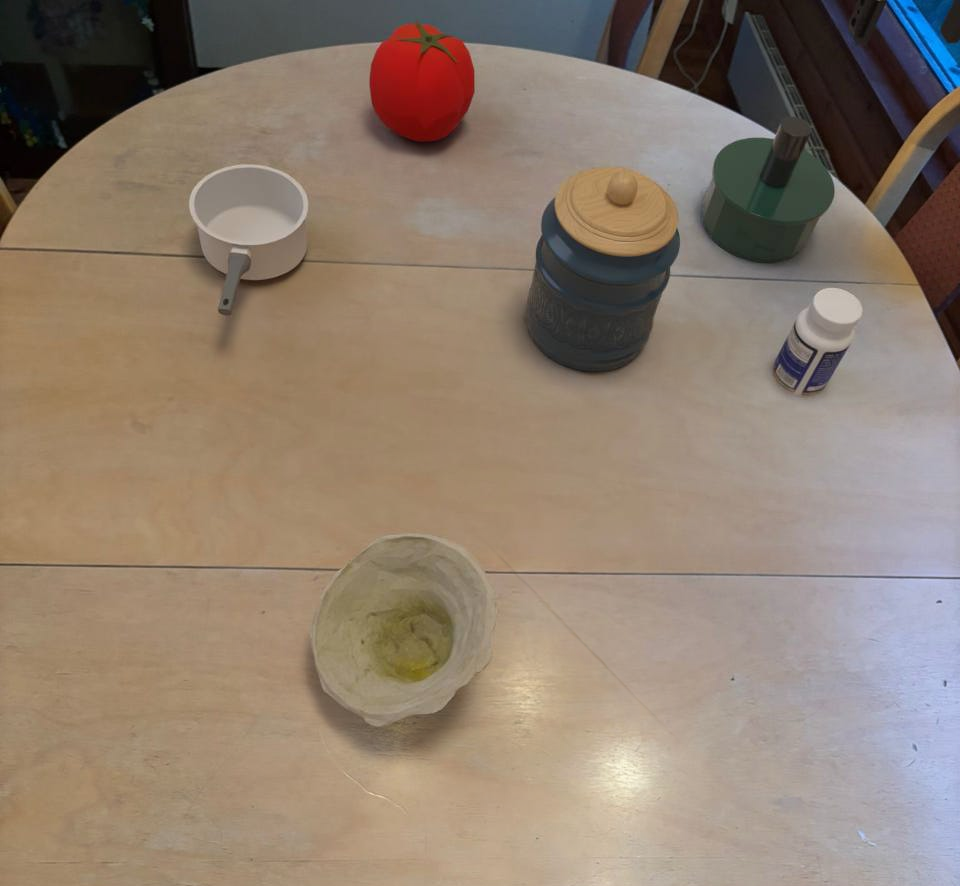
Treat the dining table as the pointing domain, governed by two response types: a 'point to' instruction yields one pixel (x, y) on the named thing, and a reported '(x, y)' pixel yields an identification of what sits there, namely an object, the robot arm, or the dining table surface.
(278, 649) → the dining table surface
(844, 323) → the pill bottle
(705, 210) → the pot
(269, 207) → the saucepan
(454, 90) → the tomato
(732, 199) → the lid
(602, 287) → the canister
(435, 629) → the bowl
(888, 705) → the dining table surface
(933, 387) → the dining table surface
